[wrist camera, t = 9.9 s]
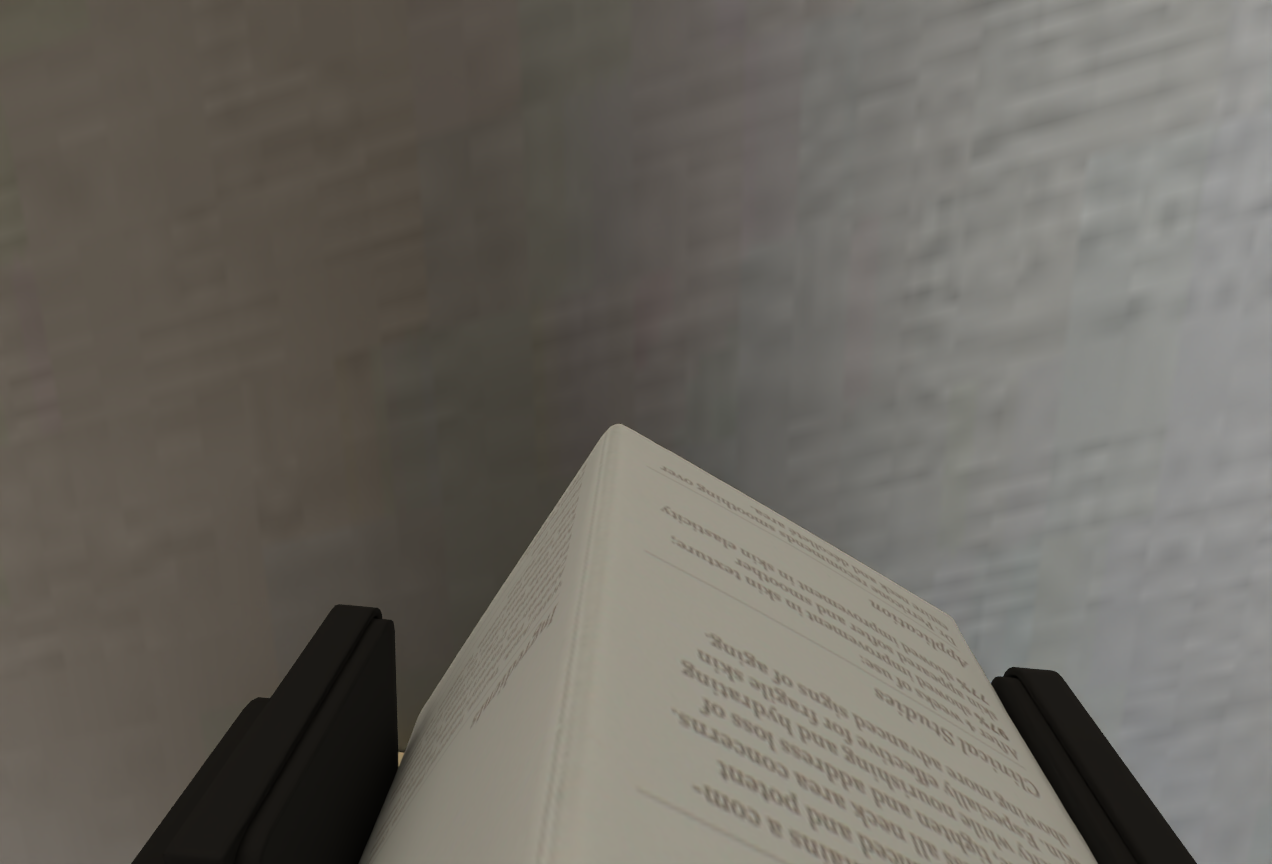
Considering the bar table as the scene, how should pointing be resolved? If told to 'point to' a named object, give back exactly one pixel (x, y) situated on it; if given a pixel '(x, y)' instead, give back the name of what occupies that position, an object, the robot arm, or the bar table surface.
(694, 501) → the product box
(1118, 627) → the bar table surface
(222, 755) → the robot arm
